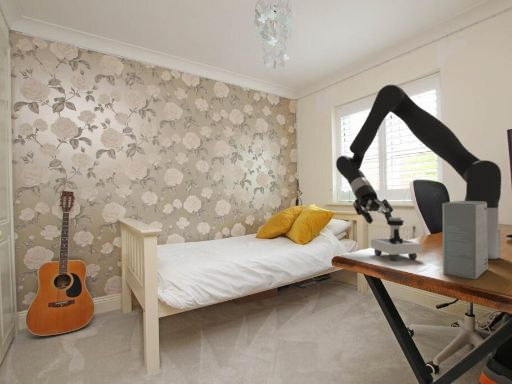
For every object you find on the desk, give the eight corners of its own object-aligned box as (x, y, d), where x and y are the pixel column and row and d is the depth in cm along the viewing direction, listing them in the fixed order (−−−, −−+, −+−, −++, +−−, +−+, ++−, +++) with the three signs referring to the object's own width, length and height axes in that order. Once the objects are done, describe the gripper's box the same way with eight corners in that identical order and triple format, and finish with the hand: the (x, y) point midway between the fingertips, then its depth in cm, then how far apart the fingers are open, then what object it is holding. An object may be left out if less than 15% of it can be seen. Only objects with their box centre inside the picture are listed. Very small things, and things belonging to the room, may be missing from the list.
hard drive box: (456, 263, 88) (457, 200, 87) (488, 269, 82) (488, 201, 82) (441, 273, 77) (442, 202, 77) (476, 280, 72) (476, 203, 71)
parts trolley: (397, 252, 103) (397, 237, 103) (420, 260, 92) (421, 243, 92) (370, 254, 100) (370, 238, 100) (391, 262, 90) (392, 244, 89)
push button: (394, 248, 93) (394, 218, 93) (380, 245, 98) (380, 217, 97) (406, 246, 96) (407, 217, 96) (393, 244, 101) (393, 216, 100)
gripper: (351, 184, 110) (368, 216, 98) (382, 184, 113) (403, 215, 102) (343, 197, 115) (359, 228, 104) (374, 197, 118) (393, 227, 107)
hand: (381, 222), depth 103 cm, fingers open, 8 cm apart
